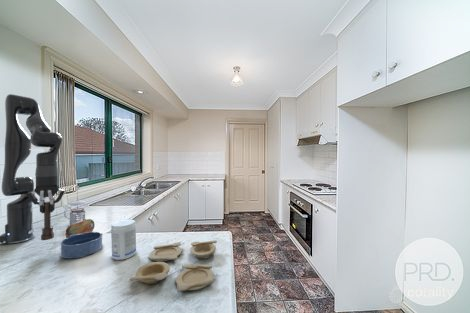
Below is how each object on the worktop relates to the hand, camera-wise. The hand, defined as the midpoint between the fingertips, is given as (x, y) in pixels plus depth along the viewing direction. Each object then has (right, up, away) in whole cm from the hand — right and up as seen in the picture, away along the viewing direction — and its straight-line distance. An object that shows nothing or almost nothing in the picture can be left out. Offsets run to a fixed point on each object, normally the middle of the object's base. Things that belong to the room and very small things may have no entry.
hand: (47, 212), depth 93 cm
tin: (+2, -18, +17) cm, 25 cm away
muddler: (0, -12, 0) cm, 12 cm away
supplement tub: (+37, -18, -3) cm, 42 cm away
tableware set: (+65, -19, -12) cm, 68 cm away
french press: (-15, -18, +35) cm, 42 cm away
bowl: (+16, -18, +1) cm, 24 cm away
